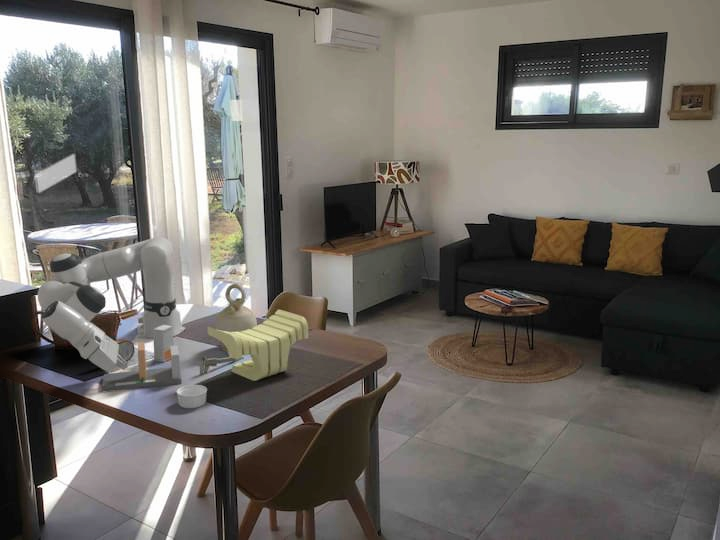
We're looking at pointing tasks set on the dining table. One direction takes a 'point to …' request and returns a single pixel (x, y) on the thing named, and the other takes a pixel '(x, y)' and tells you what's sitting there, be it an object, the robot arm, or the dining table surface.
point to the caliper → (214, 363)
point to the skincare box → (162, 342)
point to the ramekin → (192, 396)
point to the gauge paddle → (142, 361)
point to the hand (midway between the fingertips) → (126, 366)
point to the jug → (235, 315)
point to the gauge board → (152, 376)
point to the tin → (125, 349)
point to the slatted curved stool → (264, 344)
